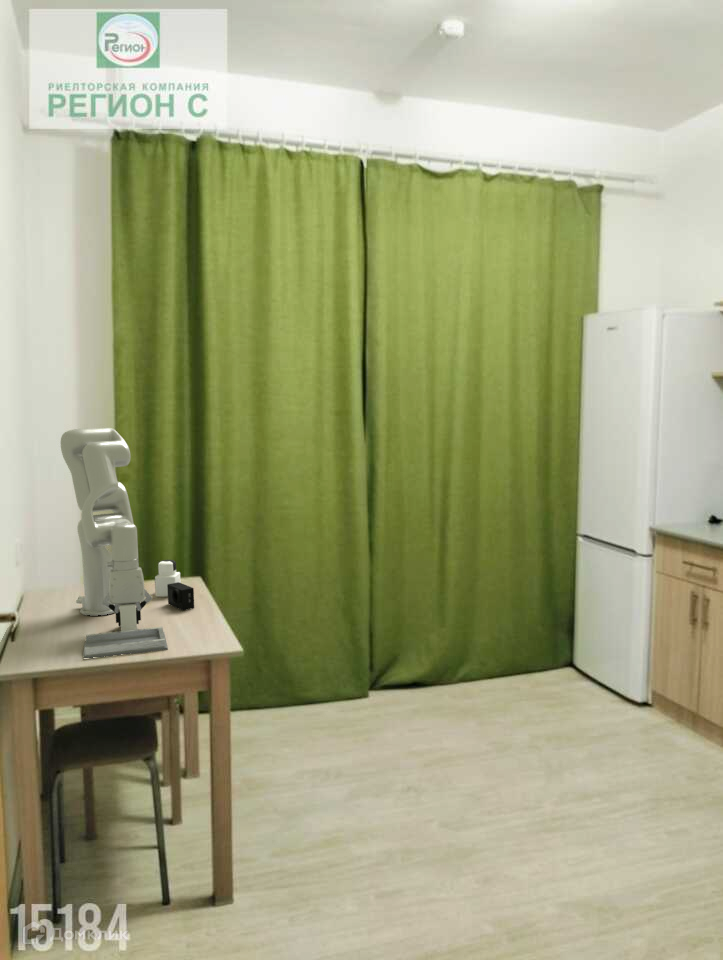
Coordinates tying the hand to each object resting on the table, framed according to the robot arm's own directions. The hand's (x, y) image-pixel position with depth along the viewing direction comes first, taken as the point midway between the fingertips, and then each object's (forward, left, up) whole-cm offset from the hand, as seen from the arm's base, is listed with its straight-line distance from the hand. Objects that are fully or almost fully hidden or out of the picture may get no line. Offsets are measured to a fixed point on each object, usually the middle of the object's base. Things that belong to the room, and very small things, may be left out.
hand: (128, 623), depth 228 cm
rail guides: (+9, -14, -2) cm, 17 cm away
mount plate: (+9, -14, -2) cm, 17 cm away
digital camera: (+2, +25, -2) cm, 25 cm away
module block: (0, 0, -2) cm, 2 cm away
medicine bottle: (-10, +37, -2) cm, 38 cm away
